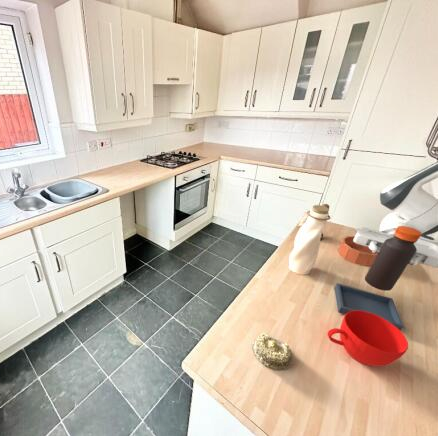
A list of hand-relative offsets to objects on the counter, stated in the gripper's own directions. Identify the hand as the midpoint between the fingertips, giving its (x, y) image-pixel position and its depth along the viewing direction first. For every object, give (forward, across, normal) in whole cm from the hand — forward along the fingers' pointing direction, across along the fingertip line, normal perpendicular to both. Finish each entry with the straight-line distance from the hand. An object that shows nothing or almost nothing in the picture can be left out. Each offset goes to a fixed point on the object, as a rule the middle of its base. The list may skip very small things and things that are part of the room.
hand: (394, 257), depth 71 cm
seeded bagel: (+37, -17, +22) cm, 46 cm away
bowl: (-34, -5, +22) cm, 41 cm away
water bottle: (-8, -22, +22) cm, 33 cm away
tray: (0, 0, +22) cm, 22 cm away
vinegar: (-1, 0, +11) cm, 11 cm away
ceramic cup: (+21, 0, +22) cm, 31 cm away
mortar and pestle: (-39, -23, +22) cm, 51 cm away
